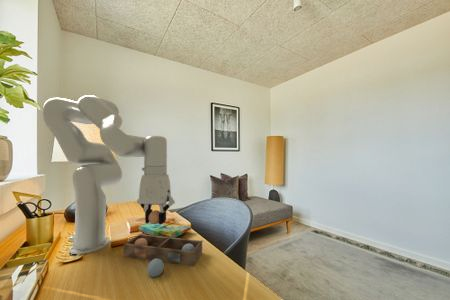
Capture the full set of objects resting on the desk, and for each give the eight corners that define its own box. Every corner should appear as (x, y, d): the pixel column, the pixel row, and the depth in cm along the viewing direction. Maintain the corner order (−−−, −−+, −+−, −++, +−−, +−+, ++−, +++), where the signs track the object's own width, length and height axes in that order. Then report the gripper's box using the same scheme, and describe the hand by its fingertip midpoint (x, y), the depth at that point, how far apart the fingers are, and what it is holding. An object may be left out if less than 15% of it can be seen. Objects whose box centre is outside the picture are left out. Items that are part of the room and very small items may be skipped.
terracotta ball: (145, 225, 62) (145, 212, 62) (153, 221, 67) (153, 208, 67) (157, 226, 61) (157, 213, 61) (164, 221, 66) (164, 209, 66)
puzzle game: (160, 216, 91) (191, 224, 80) (160, 225, 91) (191, 235, 80) (139, 224, 81) (170, 234, 70) (139, 234, 80) (170, 246, 70)
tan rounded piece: (130, 254, 63) (130, 241, 63) (139, 247, 68) (139, 235, 68) (142, 255, 62) (142, 242, 62) (150, 249, 67) (150, 236, 67)
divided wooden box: (123, 258, 61) (123, 244, 62) (139, 246, 70) (139, 234, 70) (193, 268, 56) (193, 253, 56) (202, 254, 64) (202, 240, 64)
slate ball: (143, 279, 51) (143, 263, 51) (153, 269, 56) (153, 254, 56) (158, 282, 50) (158, 265, 50) (166, 271, 55) (166, 256, 55)
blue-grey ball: (178, 261, 59) (179, 246, 59) (184, 253, 64) (184, 240, 64) (192, 262, 58) (192, 248, 58) (197, 255, 63) (197, 241, 63)
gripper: (127, 171, 62) (127, 224, 62) (172, 172, 59) (172, 228, 58) (141, 169, 70) (141, 217, 69) (182, 170, 66) (182, 220, 66)
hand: (155, 222), depth 64 cm, fingers closed on terracotta ball, 4 cm apart
